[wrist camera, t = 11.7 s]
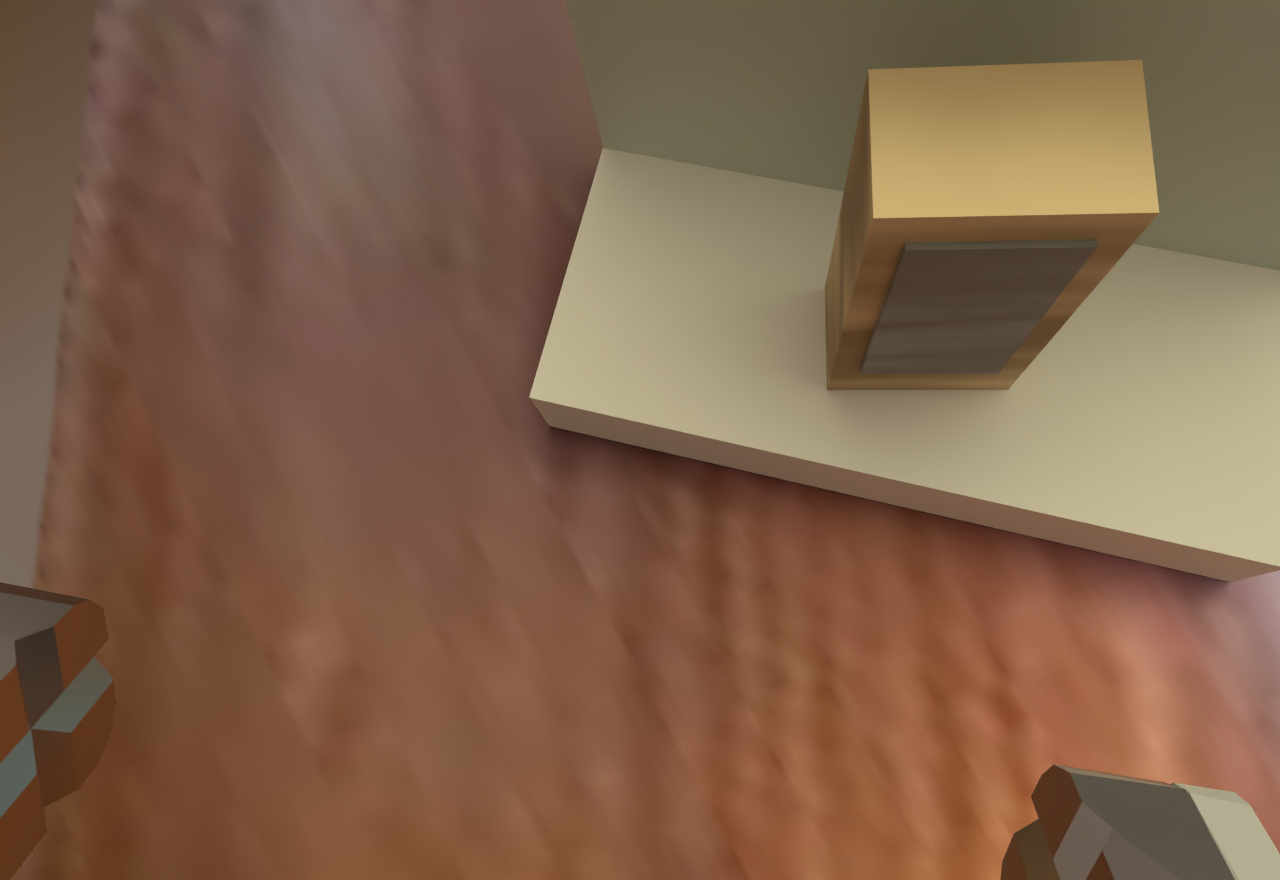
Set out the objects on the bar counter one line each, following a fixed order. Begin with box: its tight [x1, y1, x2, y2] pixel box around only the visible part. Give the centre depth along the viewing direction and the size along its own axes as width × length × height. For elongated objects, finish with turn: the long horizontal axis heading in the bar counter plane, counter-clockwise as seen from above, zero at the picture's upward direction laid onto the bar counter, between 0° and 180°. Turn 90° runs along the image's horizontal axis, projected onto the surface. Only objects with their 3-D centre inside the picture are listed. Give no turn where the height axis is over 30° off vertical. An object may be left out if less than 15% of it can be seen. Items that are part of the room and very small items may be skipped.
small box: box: [825, 60, 1159, 390], centre depth 22 cm, size 3×5×10 cm
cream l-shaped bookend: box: [529, 0, 1280, 582], centre depth 23 cm, size 9×20×16 cm, turn 75°
